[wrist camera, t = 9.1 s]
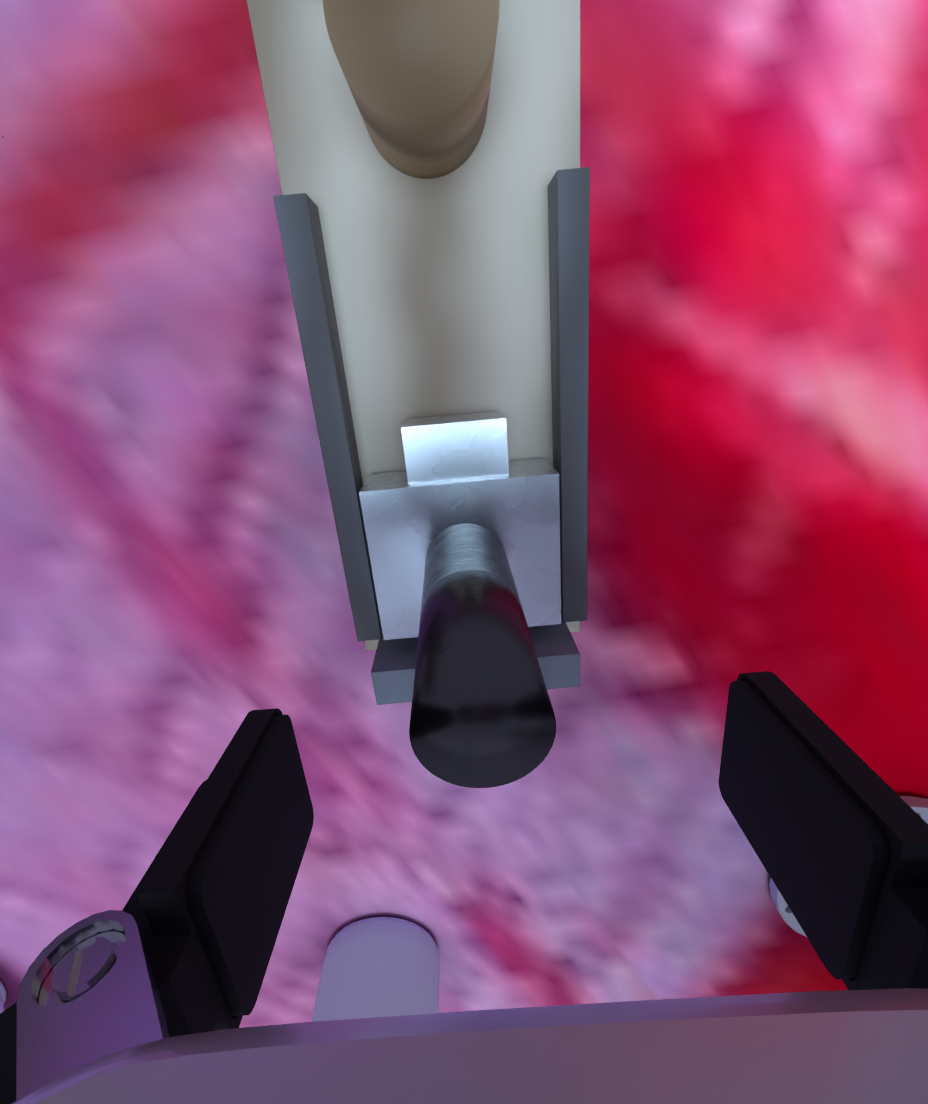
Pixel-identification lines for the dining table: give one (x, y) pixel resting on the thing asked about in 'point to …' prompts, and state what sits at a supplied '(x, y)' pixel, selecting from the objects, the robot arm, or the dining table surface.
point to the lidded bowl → (2, 996)
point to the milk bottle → (378, 972)
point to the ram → (469, 592)
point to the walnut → (418, 75)
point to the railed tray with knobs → (439, 286)
